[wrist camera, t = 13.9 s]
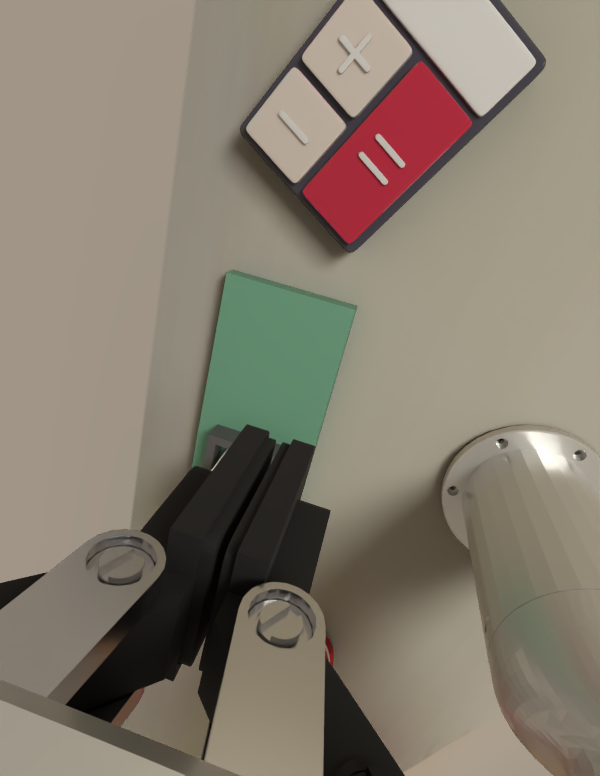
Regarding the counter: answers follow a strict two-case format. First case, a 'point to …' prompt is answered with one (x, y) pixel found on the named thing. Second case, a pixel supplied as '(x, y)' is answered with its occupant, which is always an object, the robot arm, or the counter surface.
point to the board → (270, 364)
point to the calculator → (387, 103)
